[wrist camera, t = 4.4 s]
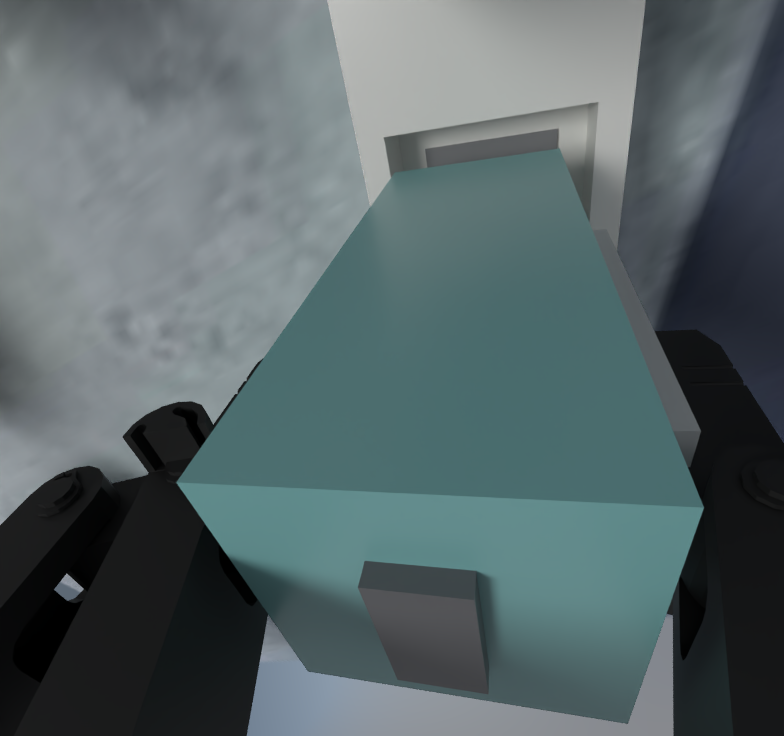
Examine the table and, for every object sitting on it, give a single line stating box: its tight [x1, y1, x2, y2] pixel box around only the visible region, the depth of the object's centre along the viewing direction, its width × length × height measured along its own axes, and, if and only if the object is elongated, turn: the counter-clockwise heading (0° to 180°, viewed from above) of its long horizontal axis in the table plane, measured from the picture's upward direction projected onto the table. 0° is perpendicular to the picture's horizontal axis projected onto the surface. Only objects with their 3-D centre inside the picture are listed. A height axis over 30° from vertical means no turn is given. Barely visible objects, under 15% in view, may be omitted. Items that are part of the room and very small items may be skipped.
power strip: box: [327, 0, 646, 250], centre depth 14 cm, size 22×8×4 cm, turn 11°
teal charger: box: [176, 148, 704, 724], centre depth 10 cm, size 5×5×12 cm
